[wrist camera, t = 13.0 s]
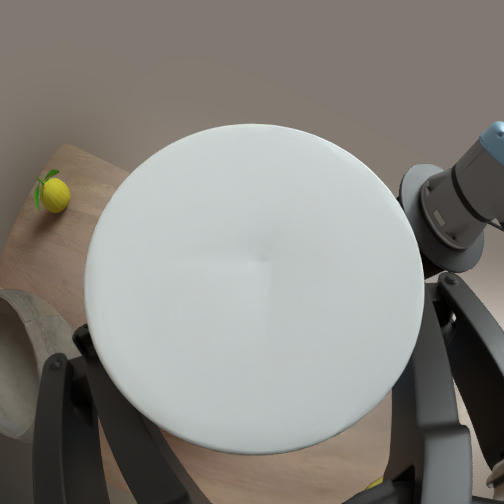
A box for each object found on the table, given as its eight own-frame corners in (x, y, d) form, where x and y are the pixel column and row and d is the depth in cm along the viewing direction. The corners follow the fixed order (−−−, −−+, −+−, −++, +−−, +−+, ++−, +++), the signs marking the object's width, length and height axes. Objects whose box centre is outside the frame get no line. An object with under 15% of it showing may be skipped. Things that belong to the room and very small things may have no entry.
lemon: (59, 228, 39) (28, 202, 29) (48, 211, 40) (19, 184, 30) (84, 201, 41) (56, 170, 31) (71, 186, 42) (45, 155, 32)
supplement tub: (318, 373, 19) (452, 407, 5) (193, 389, 18) (98, 467, 4) (298, 253, 22) (372, 117, 8) (181, 267, 21) (97, 141, 7)
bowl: (43, 282, 35) (-16, 253, 21) (131, 351, 33) (71, 350, 19) (9, 377, 29) (-49, 374, 15) (88, 453, 27) (33, 483, 12)
